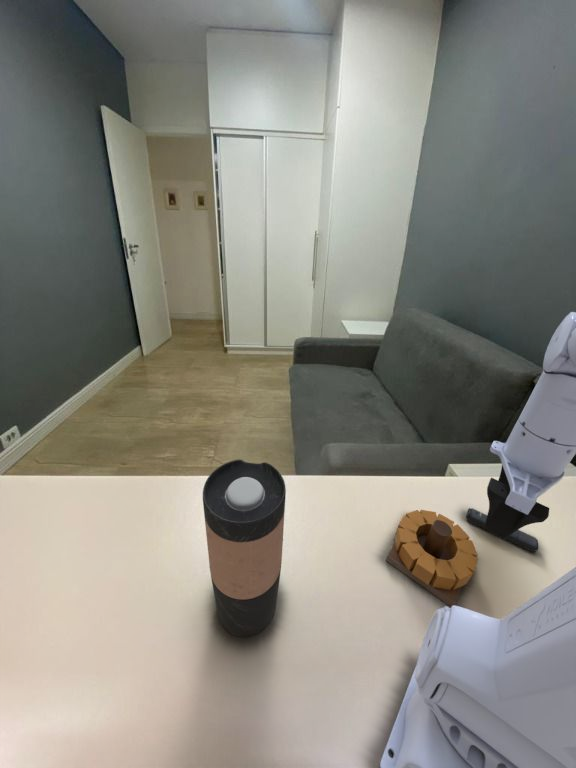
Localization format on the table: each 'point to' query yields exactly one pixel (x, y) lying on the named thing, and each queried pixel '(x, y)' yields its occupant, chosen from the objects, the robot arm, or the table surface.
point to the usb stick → (516, 537)
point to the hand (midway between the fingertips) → (500, 512)
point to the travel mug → (245, 542)
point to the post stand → (434, 547)
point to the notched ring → (428, 566)
